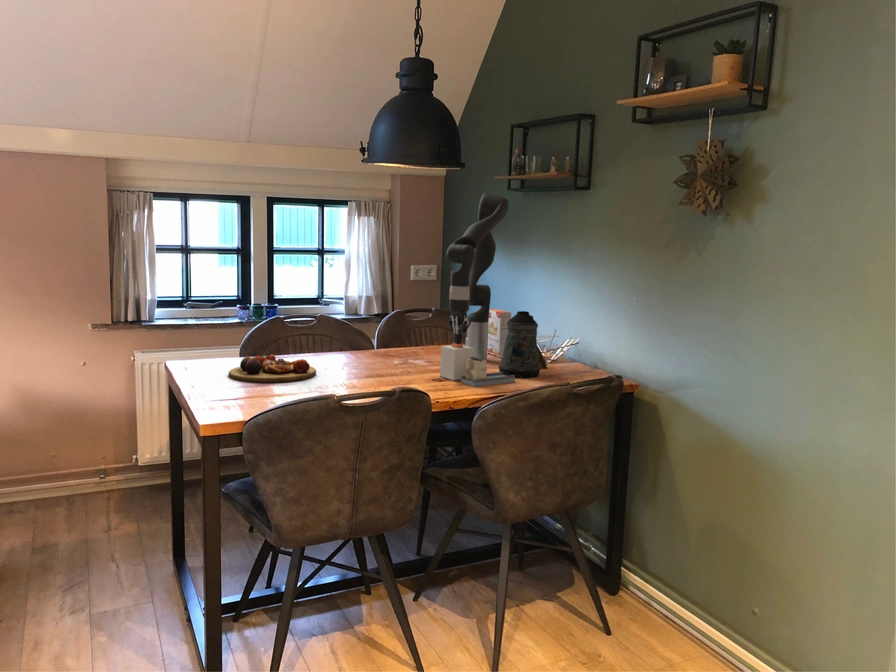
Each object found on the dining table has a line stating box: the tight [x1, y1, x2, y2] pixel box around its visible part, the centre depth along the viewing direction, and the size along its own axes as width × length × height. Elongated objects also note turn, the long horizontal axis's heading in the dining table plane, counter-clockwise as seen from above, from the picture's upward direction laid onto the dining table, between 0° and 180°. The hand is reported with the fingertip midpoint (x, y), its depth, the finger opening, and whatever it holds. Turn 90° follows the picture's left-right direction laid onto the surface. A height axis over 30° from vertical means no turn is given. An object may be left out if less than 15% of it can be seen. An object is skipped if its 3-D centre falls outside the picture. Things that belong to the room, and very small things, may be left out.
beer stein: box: [498, 310, 542, 379], centre depth 279 cm, size 16×19×25 cm
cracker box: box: [488, 308, 512, 356], centre depth 323 cm, size 14×6×21 cm, turn 25°
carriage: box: [466, 357, 488, 381], centre depth 258 cm, size 6×5×8 cm
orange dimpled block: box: [451, 342, 464, 348], centre depth 267 cm, size 3×3×9 cm
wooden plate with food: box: [227, 352, 317, 383], centre depth 264 cm, size 32×32×8 cm
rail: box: [460, 371, 516, 388], centre depth 262 cm, size 8×19×2 cm, turn 125°
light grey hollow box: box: [439, 344, 474, 382], centre depth 267 cm, size 9×9×12 cm
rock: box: [537, 345, 548, 370], centre depth 297 cm, size 11×9×10 cm
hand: (457, 343), depth 266 cm, fingers closed
